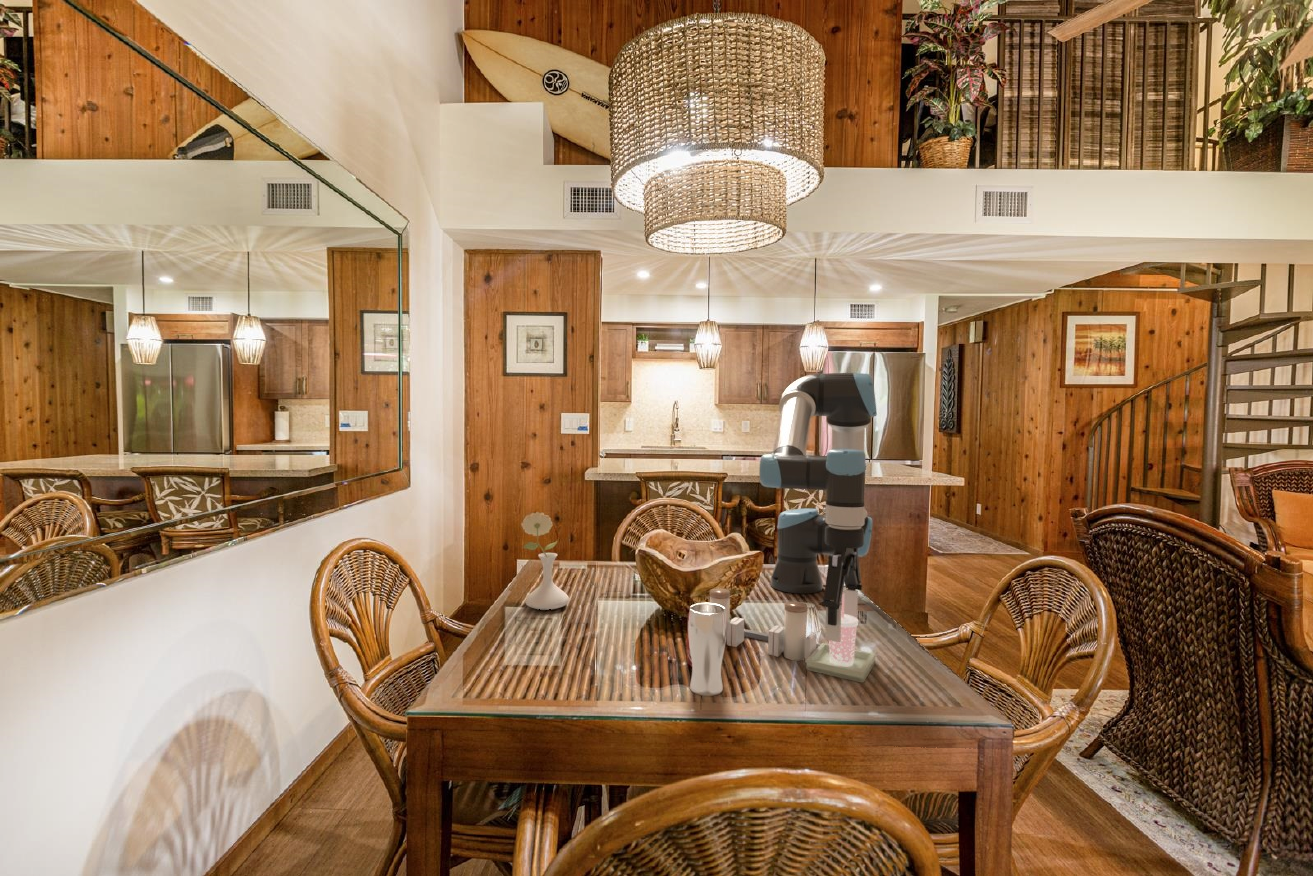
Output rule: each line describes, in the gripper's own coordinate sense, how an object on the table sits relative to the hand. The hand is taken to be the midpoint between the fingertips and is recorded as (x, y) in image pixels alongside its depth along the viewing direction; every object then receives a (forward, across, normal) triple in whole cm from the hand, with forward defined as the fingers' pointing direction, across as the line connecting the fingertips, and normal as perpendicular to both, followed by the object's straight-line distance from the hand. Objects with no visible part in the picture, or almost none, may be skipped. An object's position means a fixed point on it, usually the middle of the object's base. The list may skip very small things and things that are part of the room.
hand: (842, 630), depth 121 cm
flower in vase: (+8, +4, -76) cm, 77 cm away
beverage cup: (+7, 0, 0) cm, 7 cm away
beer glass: (+8, +24, -18) cm, 31 cm away
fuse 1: (+8, 0, -27) cm, 28 cm away
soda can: (+8, +15, -24) cm, 29 cm away
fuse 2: (+7, 0, -10) cm, 12 cm away
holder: (+7, -2, -19) cm, 20 cm away
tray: (+7, 0, 0) cm, 7 cm away
